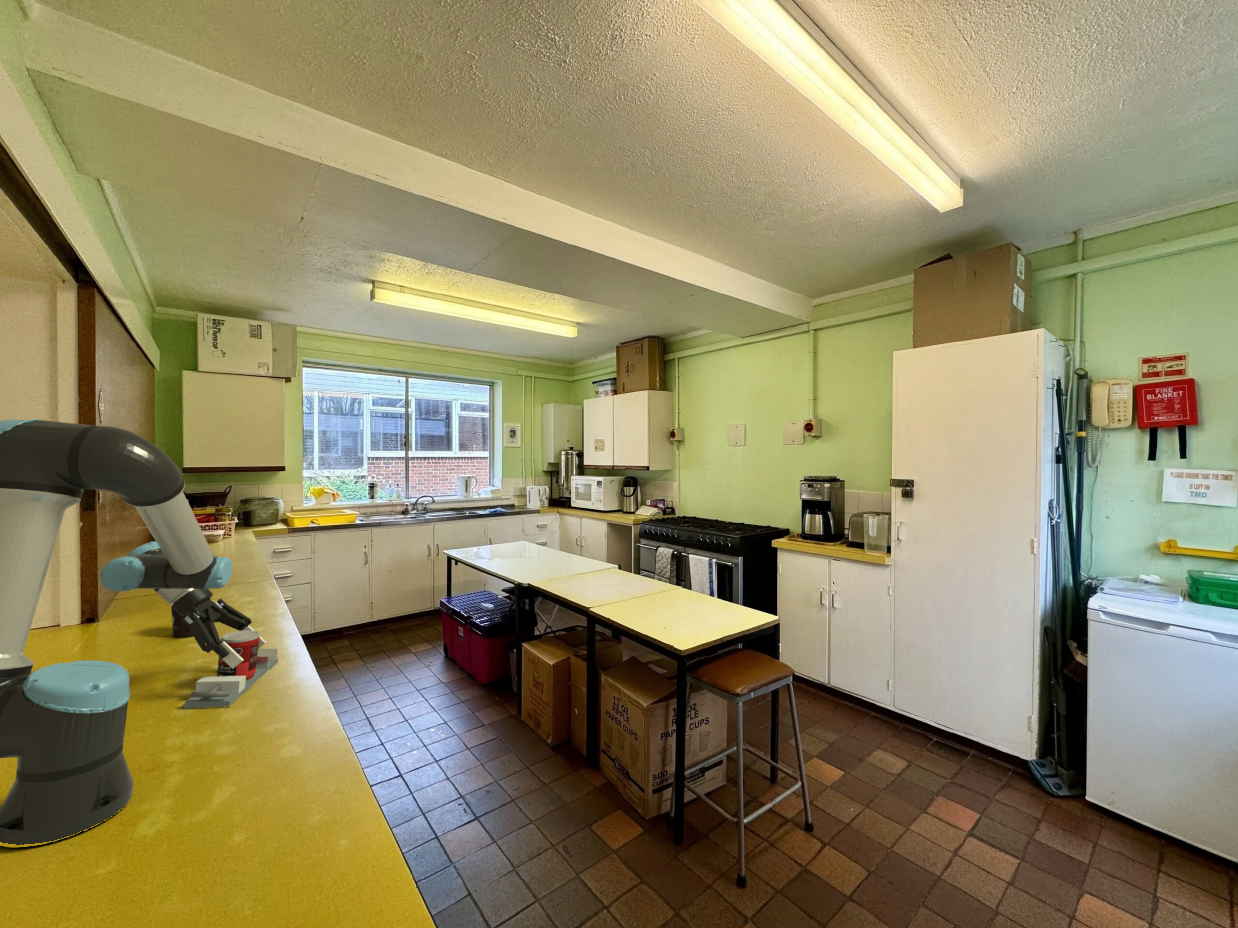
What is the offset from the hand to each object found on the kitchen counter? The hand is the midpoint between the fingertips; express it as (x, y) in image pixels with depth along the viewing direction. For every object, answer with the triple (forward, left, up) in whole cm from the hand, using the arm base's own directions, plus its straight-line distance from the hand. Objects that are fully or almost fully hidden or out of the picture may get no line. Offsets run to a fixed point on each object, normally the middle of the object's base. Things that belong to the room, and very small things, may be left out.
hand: (250, 654), depth 127 cm
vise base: (+1, +3, -7) cm, 8 cm away
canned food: (+1, +3, -6) cm, 7 cm away
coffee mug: (+46, +15, -8) cm, 49 cm away
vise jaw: (+9, -1, -6) cm, 11 cm away
